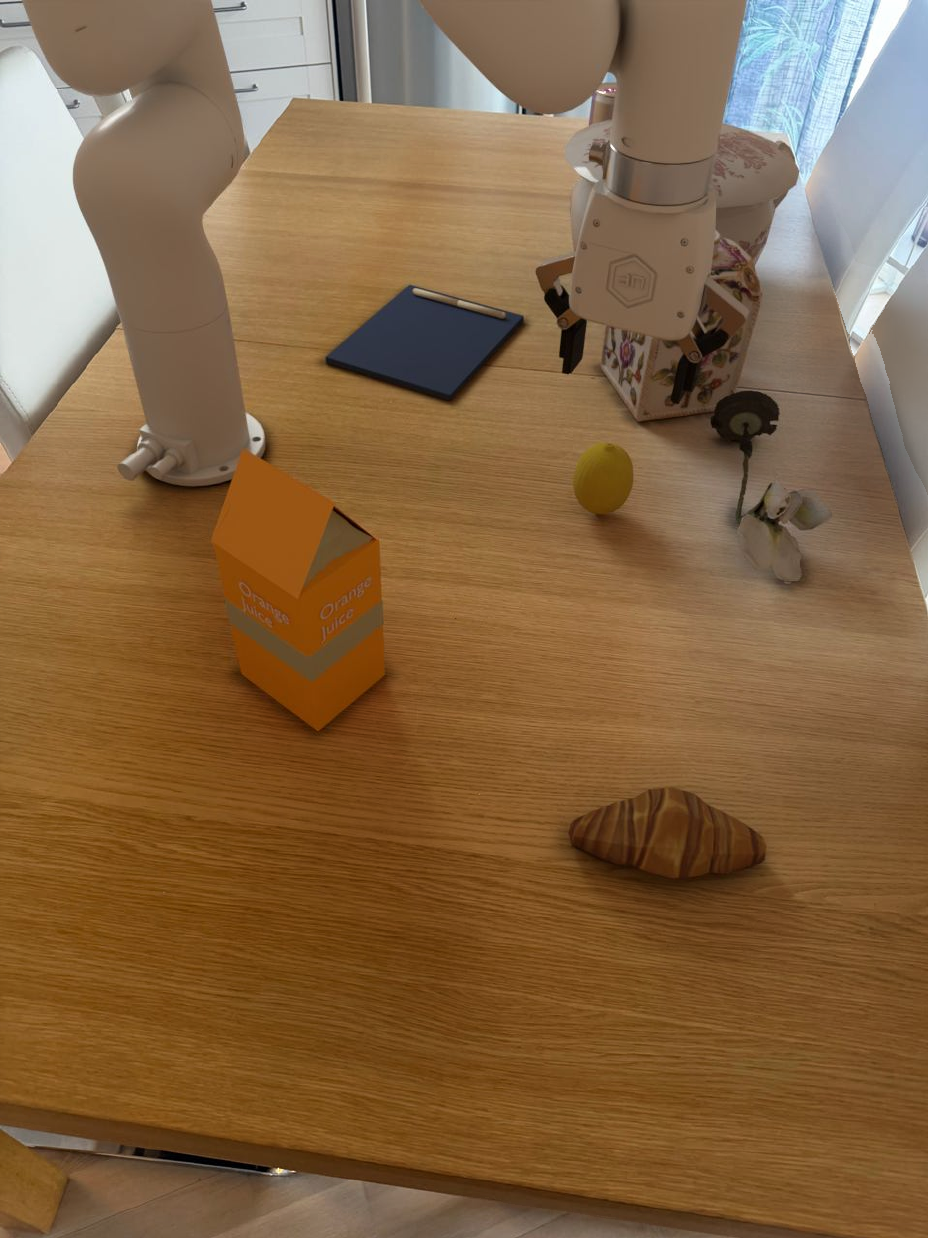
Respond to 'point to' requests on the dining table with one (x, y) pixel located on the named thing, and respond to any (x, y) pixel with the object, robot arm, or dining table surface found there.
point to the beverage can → (602, 103)
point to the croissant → (668, 835)
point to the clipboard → (426, 341)
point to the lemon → (603, 478)
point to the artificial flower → (767, 490)
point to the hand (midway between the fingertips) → (624, 380)
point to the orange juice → (299, 592)
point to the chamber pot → (741, 183)
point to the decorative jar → (651, 362)
